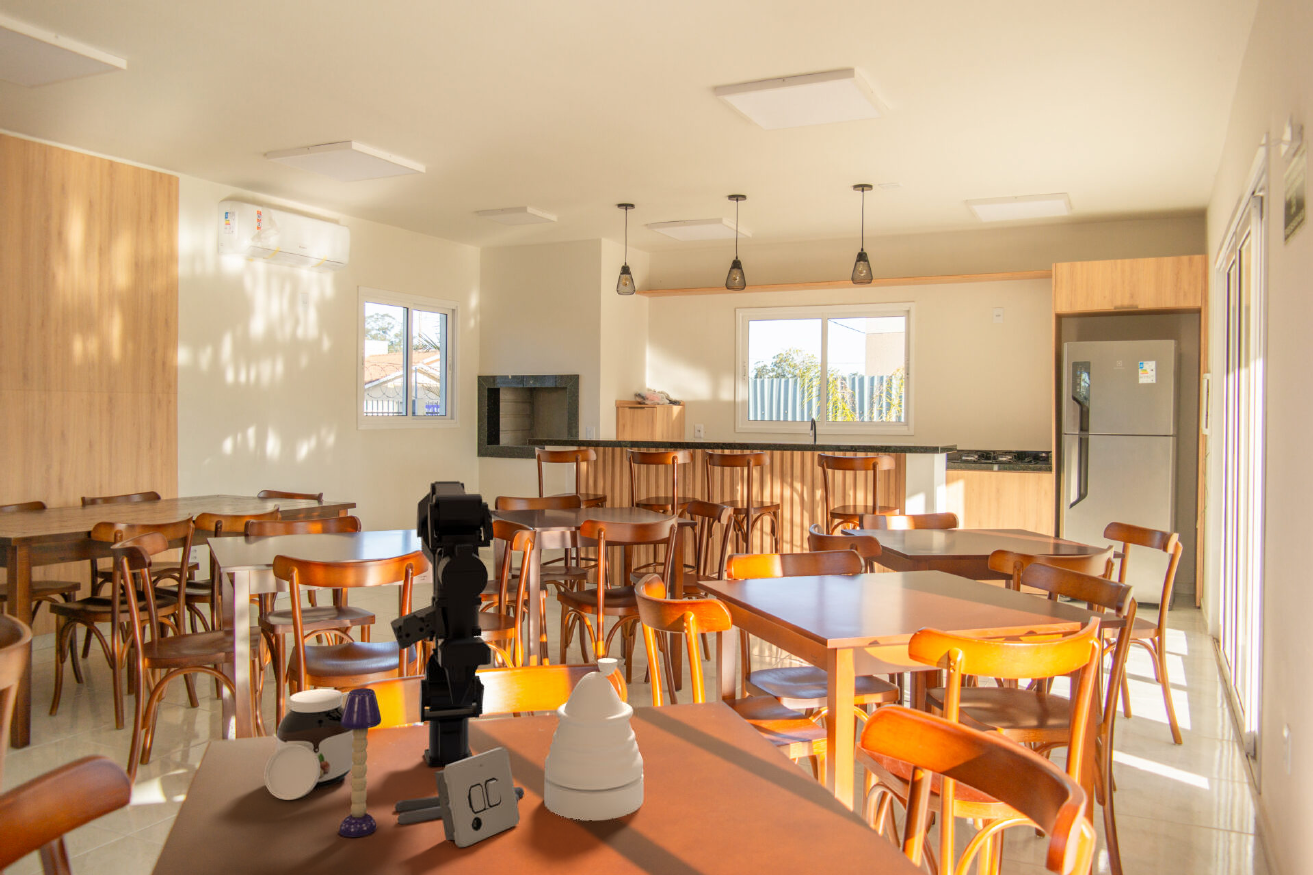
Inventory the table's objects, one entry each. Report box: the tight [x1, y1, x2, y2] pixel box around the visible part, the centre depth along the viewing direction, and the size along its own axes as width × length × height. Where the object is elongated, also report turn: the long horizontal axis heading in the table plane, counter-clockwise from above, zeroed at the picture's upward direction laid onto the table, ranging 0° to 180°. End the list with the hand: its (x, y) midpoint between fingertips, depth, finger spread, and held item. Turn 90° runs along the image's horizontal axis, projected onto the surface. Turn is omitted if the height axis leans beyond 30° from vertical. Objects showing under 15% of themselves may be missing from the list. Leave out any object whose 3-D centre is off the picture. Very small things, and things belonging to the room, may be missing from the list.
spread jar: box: [263, 688, 354, 801], centre depth 127 cm, size 12×11×12 cm
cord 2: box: [397, 794, 520, 825], centre depth 118 cm, size 1×15×1 cm, turn 117°
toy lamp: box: [339, 687, 382, 838], centre depth 113 cm, size 5×5×17 cm
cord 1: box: [394, 786, 525, 813], centre depth 121 cm, size 1×16×1 cm, turn 109°
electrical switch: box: [434, 747, 521, 848], centre depth 113 cm, size 9×5×9 cm, turn 141°
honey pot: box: [543, 657, 644, 822], centre depth 122 cm, size 13×13×18 cm
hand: (456, 704), depth 126 cm, fingers closed
